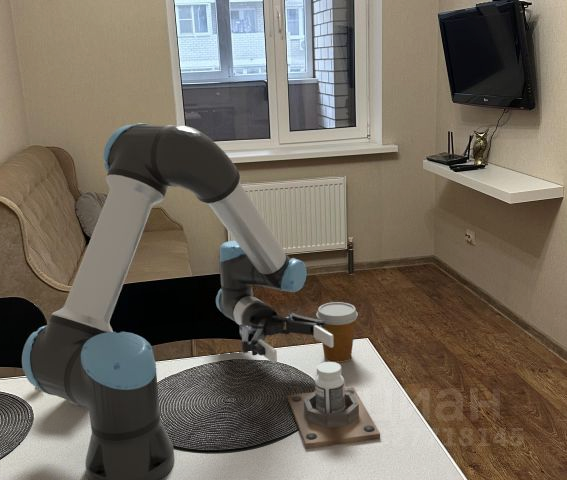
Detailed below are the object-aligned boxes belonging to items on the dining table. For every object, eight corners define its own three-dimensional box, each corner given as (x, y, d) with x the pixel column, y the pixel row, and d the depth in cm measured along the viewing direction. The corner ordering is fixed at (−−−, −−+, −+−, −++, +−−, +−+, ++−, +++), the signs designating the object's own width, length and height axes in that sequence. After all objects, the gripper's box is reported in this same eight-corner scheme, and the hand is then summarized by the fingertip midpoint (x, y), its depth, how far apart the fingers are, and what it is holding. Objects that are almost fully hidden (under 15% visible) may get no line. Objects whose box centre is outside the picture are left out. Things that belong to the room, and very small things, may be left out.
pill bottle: (345, 405, 130) (344, 360, 127) (345, 421, 124) (344, 373, 121) (316, 405, 130) (315, 360, 127) (315, 421, 125) (313, 373, 122)
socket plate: (305, 448, 118) (305, 431, 117) (287, 399, 135) (287, 384, 134) (380, 438, 120) (380, 421, 119) (353, 391, 137) (353, 376, 136)
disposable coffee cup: (363, 362, 150) (363, 313, 147) (323, 368, 148) (322, 318, 145) (350, 345, 159) (350, 299, 156) (313, 350, 157) (311, 304, 154)
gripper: (302, 320, 158) (354, 351, 140) (207, 344, 146) (250, 381, 128) (301, 291, 156) (354, 318, 138) (205, 312, 144) (248, 346, 126)
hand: (304, 349), depth 133 cm, fingers open, 13 cm apart
